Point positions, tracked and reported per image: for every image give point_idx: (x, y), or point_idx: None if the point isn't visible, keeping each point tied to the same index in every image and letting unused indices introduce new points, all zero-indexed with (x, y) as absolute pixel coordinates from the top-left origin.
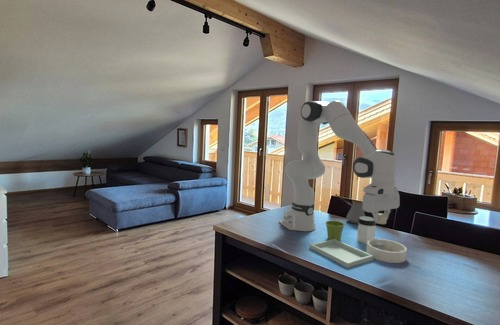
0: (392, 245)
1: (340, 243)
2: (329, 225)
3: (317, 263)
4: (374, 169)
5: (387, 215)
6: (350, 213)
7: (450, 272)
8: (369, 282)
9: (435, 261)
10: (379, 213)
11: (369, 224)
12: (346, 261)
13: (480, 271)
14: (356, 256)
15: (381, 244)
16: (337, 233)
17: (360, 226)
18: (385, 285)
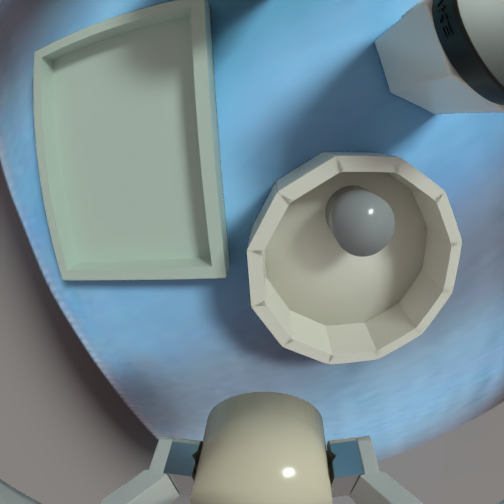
0: (439, 241)
1: (194, 51)
2: None
3: (13, 188)
4: None
5: (352, 497)
6: None
7: (401, 407)
8: (99, 354)
9: (455, 352)
10: (287, 495)
11: (472, 81)
12: (64, 266)
13: (461, 412)
14: (177, 202)
15: (367, 236)
16: None
17: (421, 20)
18: (133, 383)
